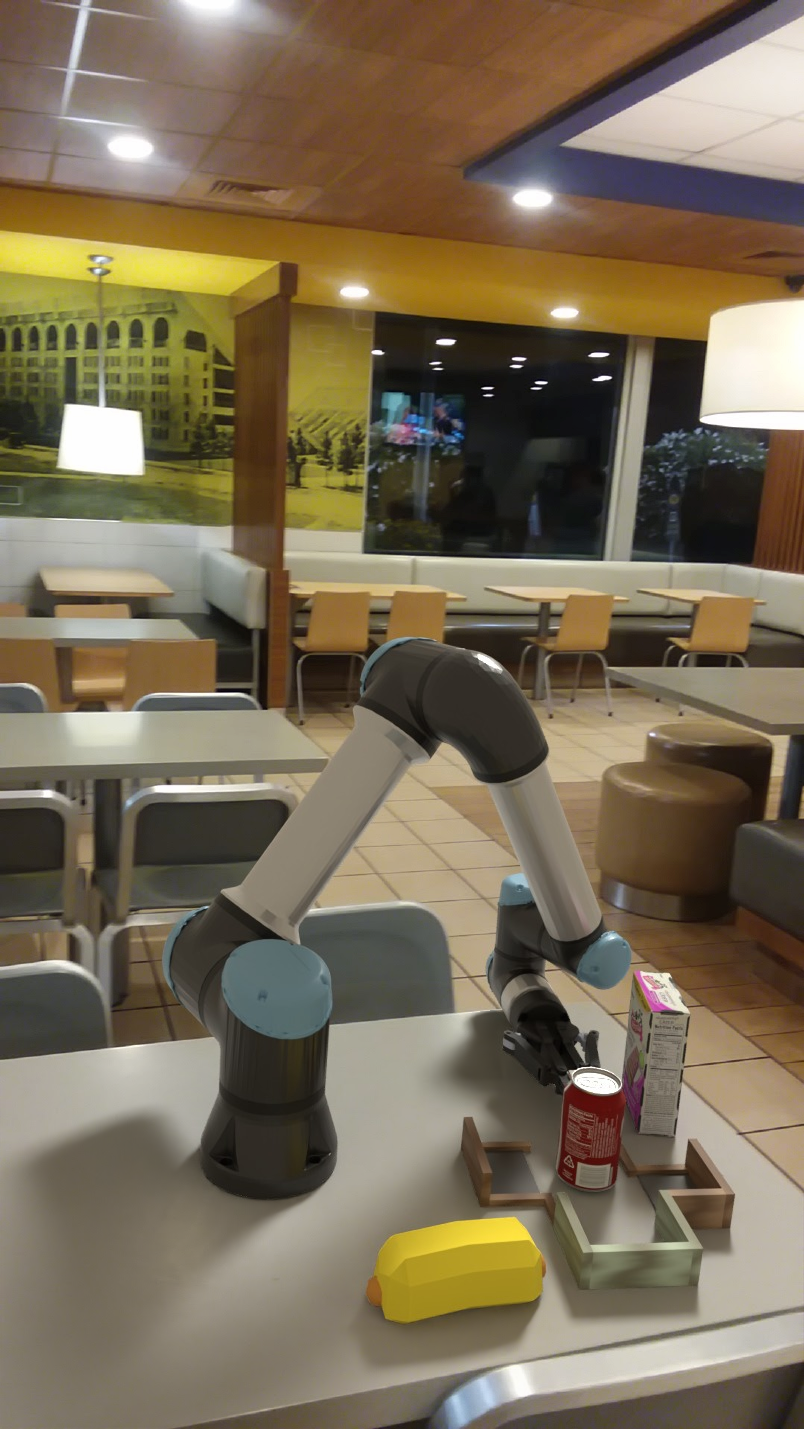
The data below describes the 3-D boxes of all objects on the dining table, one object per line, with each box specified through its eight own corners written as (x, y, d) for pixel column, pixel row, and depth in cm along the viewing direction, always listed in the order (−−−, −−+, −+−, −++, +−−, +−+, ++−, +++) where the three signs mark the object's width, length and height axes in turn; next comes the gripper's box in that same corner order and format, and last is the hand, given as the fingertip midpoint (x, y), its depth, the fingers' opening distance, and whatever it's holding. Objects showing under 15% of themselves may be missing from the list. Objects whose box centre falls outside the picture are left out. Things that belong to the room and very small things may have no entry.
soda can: (615, 1202, 116) (628, 1101, 114) (553, 1190, 117) (563, 1090, 115) (616, 1166, 122) (627, 1069, 120) (556, 1155, 124) (567, 1059, 121)
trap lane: (507, 1292, 101) (511, 1255, 101) (460, 1148, 124) (463, 1116, 123) (765, 1282, 105) (771, 1246, 104) (675, 1144, 128) (679, 1113, 127)
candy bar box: (617, 1086, 140) (631, 969, 137) (656, 1089, 140) (671, 971, 137) (635, 1136, 129) (650, 1009, 126) (676, 1139, 129) (693, 1012, 126)
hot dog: (353, 1281, 102) (375, 1342, 94) (357, 1219, 100) (380, 1275, 93) (527, 1254, 107) (561, 1309, 100) (534, 1194, 106) (568, 1246, 99)
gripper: (578, 1038, 147) (641, 1139, 124) (486, 1039, 145) (532, 1141, 122) (584, 987, 145) (648, 1079, 123) (490, 987, 143) (538, 1081, 120)
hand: (590, 1110), depth 122 cm, fingers closed
